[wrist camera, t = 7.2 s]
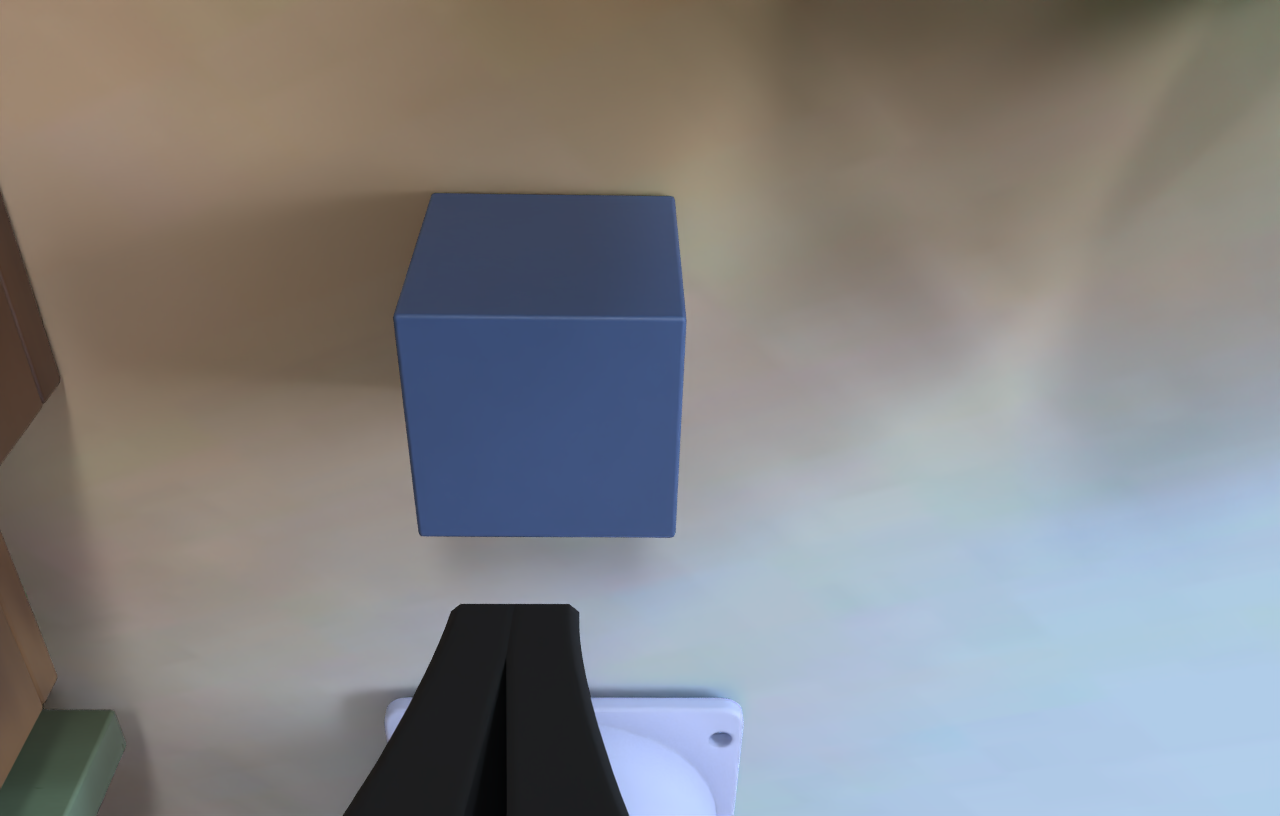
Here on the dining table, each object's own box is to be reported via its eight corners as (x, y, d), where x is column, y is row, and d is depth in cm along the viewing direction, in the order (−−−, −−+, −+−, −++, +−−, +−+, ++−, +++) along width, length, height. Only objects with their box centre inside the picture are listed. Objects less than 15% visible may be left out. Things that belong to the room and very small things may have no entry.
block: (666, 395, 21) (675, 539, 18) (449, 393, 21) (418, 538, 18) (675, 194, 19) (687, 318, 16) (430, 191, 19) (391, 314, 16)
